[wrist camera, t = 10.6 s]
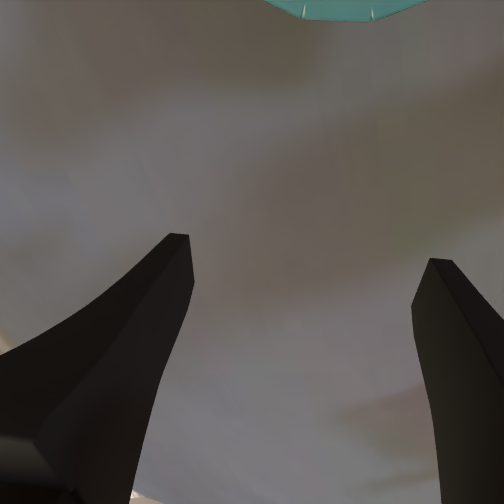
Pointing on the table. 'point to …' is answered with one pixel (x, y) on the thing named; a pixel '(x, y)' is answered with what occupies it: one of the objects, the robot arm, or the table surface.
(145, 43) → the table surface
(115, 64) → the table surface
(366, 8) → the cup
